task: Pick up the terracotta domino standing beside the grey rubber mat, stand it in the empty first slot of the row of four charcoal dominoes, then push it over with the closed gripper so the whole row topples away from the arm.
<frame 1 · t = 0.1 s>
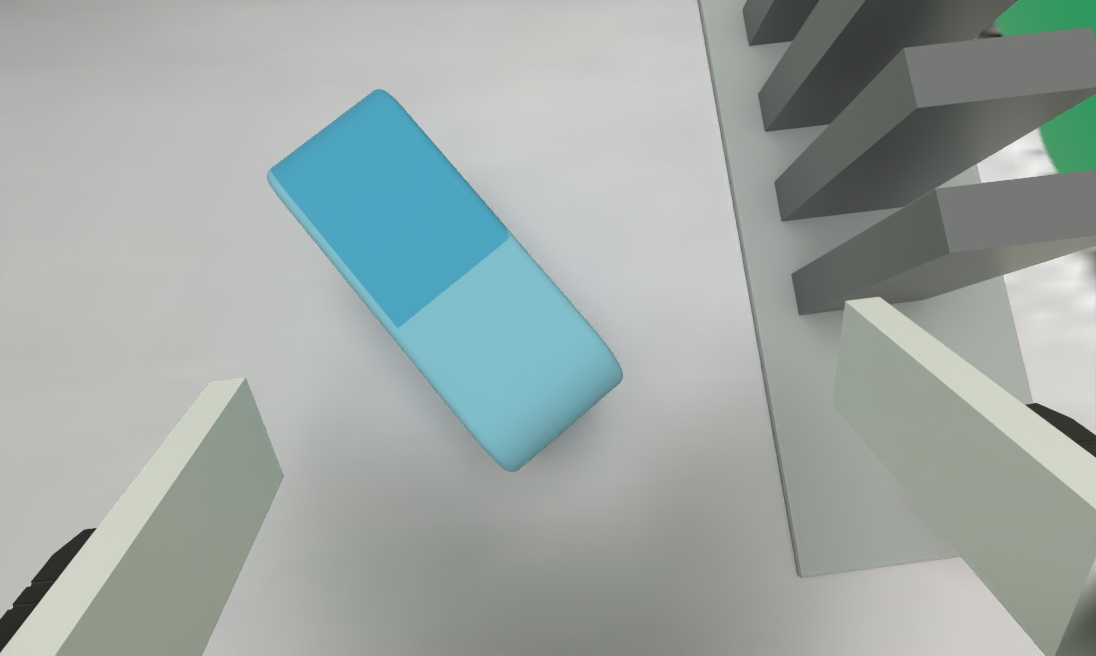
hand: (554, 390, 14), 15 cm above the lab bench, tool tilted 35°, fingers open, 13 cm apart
domino 2: (857, 287, 29), resting on mat
domino 4: (821, 106, 31), resting on mat
data package: (479, 326, 30), on the lab bench
domino 3: (838, 194, 30), resting on mat
domino 5: (804, 21, 31), resting on mat
mat: (863, 238, 30), on the lab bench
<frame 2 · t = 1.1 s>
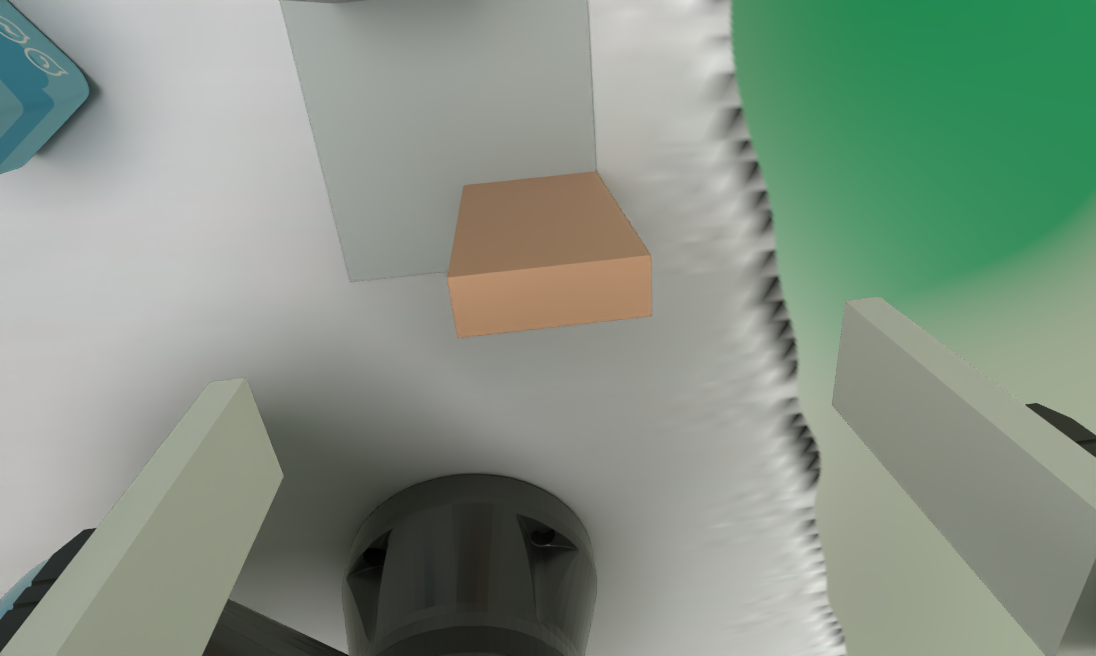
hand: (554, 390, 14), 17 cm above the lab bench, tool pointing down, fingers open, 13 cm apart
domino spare: (532, 200, 28), resting on mat
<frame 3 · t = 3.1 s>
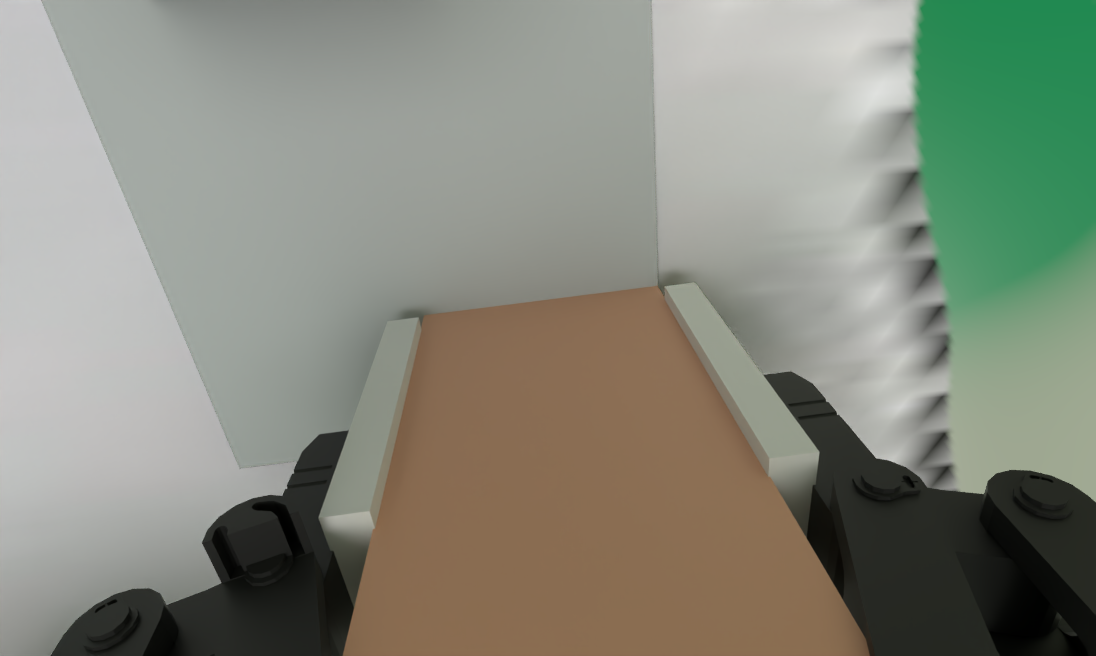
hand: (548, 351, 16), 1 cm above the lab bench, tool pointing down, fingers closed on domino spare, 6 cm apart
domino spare: (545, 334, 16), resting on mat, touching gripper
when the fingers open (2 cm above the lab bench, at t = 7.5 s): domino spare stays where it is, resting on mat.
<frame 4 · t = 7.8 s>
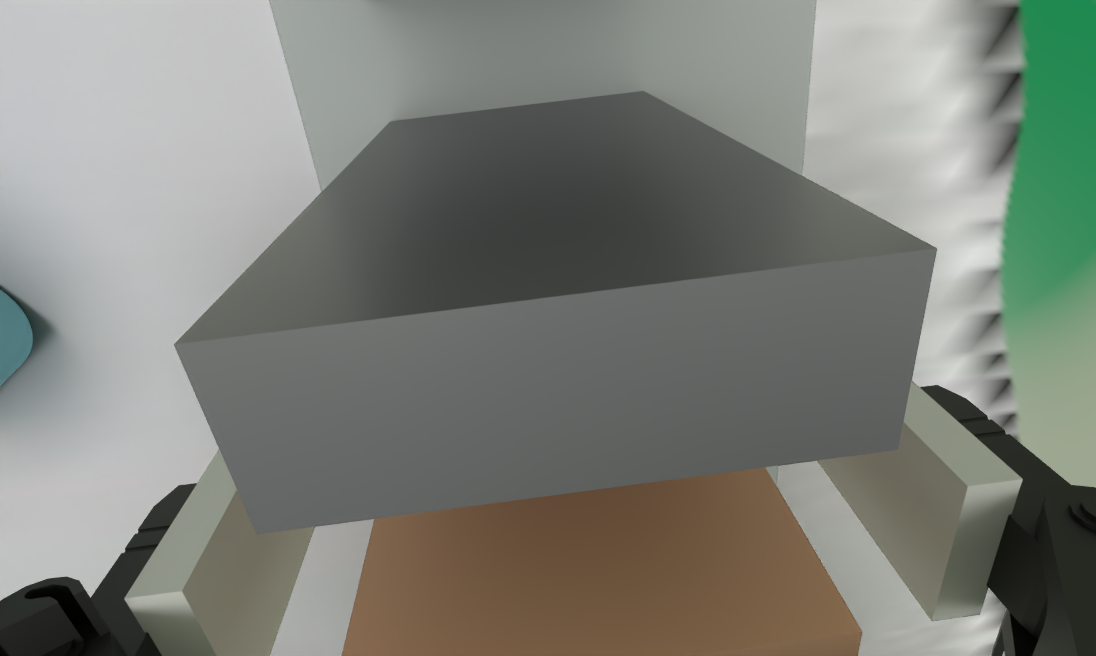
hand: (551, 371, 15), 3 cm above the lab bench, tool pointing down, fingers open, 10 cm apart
domino 2: (522, 149, 15), resting on mat
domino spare: (542, 317, 17), resting on mat
mat: (552, 35, 14), on the lab bench
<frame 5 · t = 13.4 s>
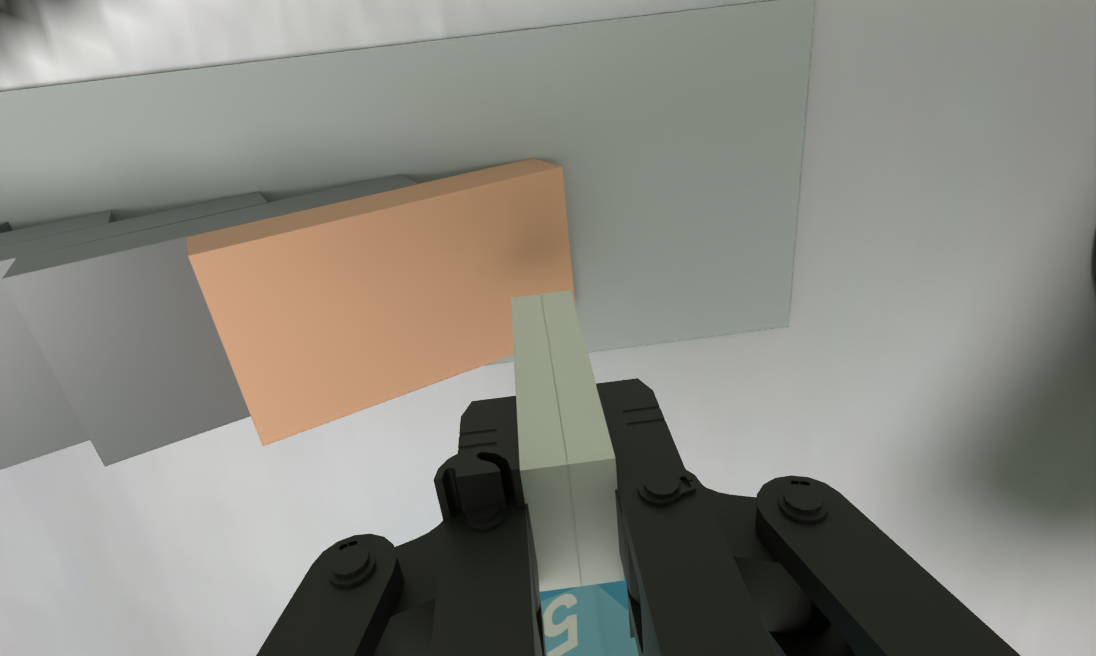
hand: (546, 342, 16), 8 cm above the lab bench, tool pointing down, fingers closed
domino 2: (426, 262, 22), point 1 cm above the lab bench, tilted 65°, touching domino 3, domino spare, mat
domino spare: (555, 246, 22), point 1 cm above the lab bench, tilted 65°, touching domino 2
domino 4: (146, 299, 22), point 2 cm above the lab bench, tilted 64°, touching domino 3, domino 5
data package: (513, 578, 32), on the lab bench
domino 3: (289, 279, 22), point 1 cm above the lab bench, tilted 64°, touching domino 2, domino 4, mat
mat: (392, 228, 23), on the lab bench
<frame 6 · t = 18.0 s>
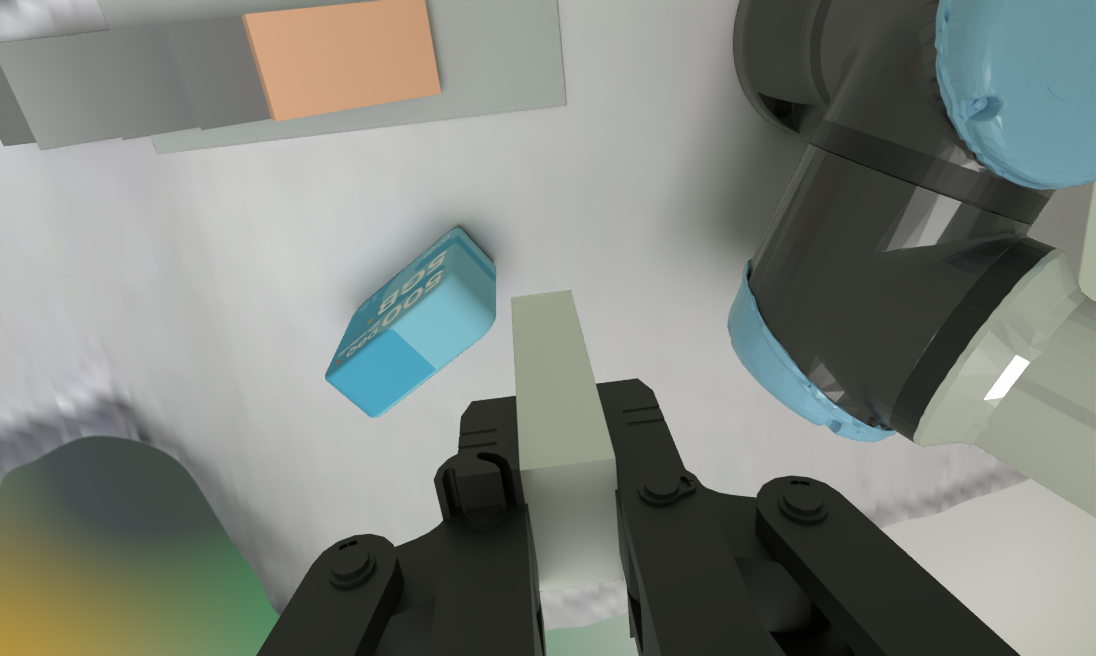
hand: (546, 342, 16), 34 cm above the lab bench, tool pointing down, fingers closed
domino 2: (360, 54, 42), point 1 cm above the lab bench, tilted 65°, touching domino 3, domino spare, mat
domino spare: (427, 46, 43), point 1 cm above the lab bench, tilted 65°, touching domino 2
domino 4: (215, 71, 42), point 2 cm above the lab bench, tilted 64°, touching domino 3, domino 5
data package: (425, 285, 52), on the lab bench
domino 3: (288, 62, 42), point 1 cm above the lab bench, tilted 64°, touching domino 2, domino 4, mat
domino 5: (155, 78, 42), point 1 cm above the lab bench, tilted 90°, touching domino 4, mat
mat: (343, 39, 43), on the lab bench
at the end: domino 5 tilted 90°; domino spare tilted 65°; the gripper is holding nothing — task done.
